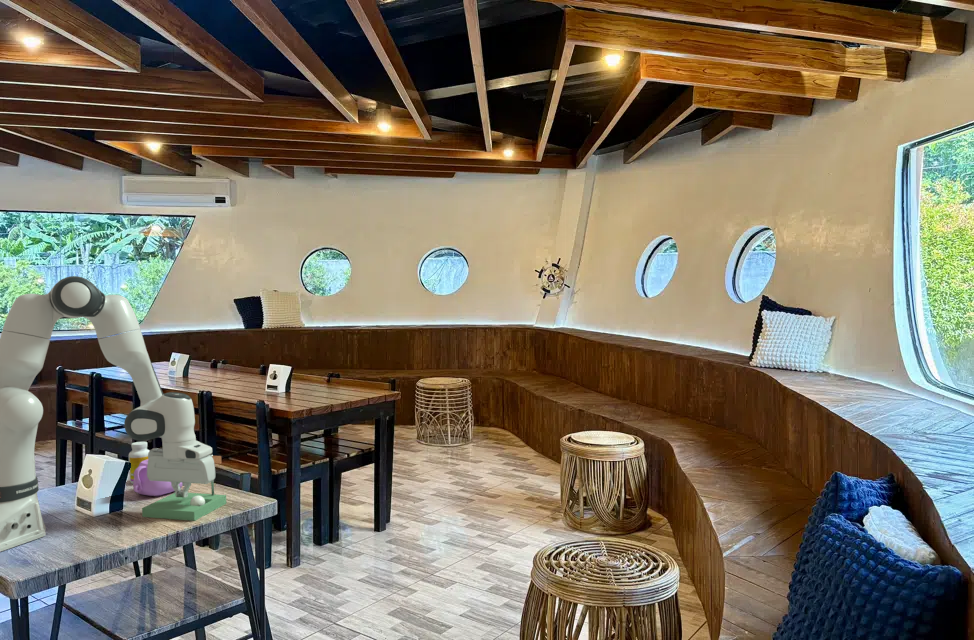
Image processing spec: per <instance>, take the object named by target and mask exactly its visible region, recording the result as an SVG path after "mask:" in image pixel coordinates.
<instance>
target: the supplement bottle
mask: <svg viewBox="0 0 974 640" xmlns="http://www.w3.org/2000/svg"><path fill="white" fill-rule="evenodd" d="M130 445H131V449H132V450H131V451H130V452H129V453H128V463H129V462H130V463H131V468H130V470H129V469H128V470H129V482H130V484H131V485H133V482H134V471H135V470H136V468H138V466H139V464H140V463H141V462H142V461H144V460H147V459H148V453H149V451H150V450H151V449H148V447H149V446H148V442H147V441H136V442H131V444H130Z"/></svg>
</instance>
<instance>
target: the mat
mask: <svg viewBox="0 0 974 640" xmlns="http://www.w3.org/2000/svg"><path fill="white" fill-rule="evenodd" d="M194 496H202V497H203V498H204V499H205V504H204V505H202V506H190V501H191V499H192V498H193V497H194ZM224 505H227V495H226V494H215V493H214V495H213V496H212V493H199V492H198V493H197V492H188V496H187V497H185V498H183V497H176V495H175V492H173V493H172V494H171V493H170V494H169V495H167V496H165V497H162V498H161V499H159V500H156V501H154V502H153V503H149V504H148V505H146V506H143V507H141V514H142V518H151V519H152V518H153V519H165V520H167V519H168V520H178V521H181V520H182V521H193V522H194V521H197V520H199V519H200V518H202V517H204V516H206V515H208V514H209V513H212V512H214V511H216V510H217V509H219V508H220V507H223V506H224Z"/></svg>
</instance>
